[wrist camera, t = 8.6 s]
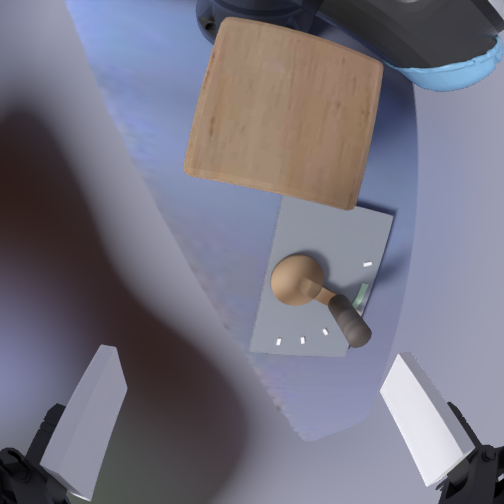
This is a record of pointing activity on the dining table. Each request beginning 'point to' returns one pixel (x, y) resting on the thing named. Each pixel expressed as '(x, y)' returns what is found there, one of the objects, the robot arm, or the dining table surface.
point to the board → (334, 268)
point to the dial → (317, 295)
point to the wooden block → (285, 114)
